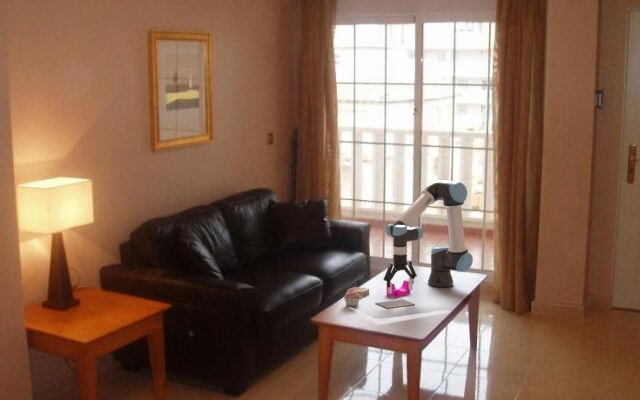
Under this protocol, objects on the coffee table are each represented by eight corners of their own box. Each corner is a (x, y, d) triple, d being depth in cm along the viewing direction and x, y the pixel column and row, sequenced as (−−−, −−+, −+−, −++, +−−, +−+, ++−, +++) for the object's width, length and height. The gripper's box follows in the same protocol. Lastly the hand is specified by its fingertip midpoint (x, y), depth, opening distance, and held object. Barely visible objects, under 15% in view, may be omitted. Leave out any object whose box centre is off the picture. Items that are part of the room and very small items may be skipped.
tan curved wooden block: (346, 290, 448) (360, 291, 443) (355, 286, 456) (369, 288, 451) (346, 297, 448) (360, 299, 443) (355, 293, 457) (369, 295, 452)
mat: (402, 300, 440) (402, 299, 440) (414, 304, 429) (414, 303, 429) (375, 303, 431) (375, 302, 431) (386, 308, 421) (386, 307, 421)
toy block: (393, 298, 445) (393, 285, 445) (386, 296, 451) (386, 283, 450) (413, 294, 454) (413, 281, 453) (406, 292, 459) (406, 279, 458)
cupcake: (357, 308, 422) (357, 290, 421) (341, 306, 425) (341, 288, 424) (362, 304, 431) (362, 286, 430) (346, 302, 434) (346, 285, 433)
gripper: (415, 250, 437) (415, 287, 440) (377, 254, 426) (377, 292, 429) (422, 252, 431) (423, 289, 433) (384, 257, 419) (384, 295, 422)
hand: (400, 291), depth 431 cm, fingers open, 13 cm apart
